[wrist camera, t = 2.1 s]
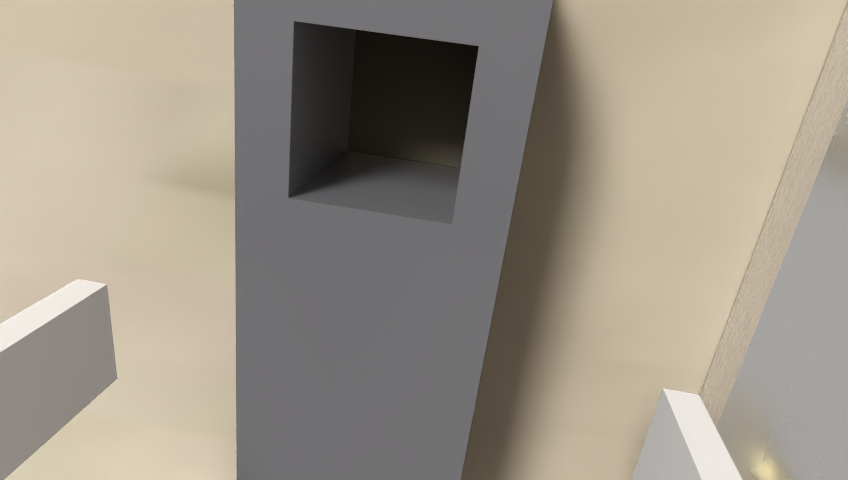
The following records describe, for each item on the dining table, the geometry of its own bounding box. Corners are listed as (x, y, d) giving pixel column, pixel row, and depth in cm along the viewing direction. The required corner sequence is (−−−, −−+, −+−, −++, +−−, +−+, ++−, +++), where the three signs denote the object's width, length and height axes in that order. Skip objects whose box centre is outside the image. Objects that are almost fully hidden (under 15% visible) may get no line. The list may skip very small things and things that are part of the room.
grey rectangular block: (441, 525, 21) (422, 683, 16) (292, 495, 22) (228, 640, 17) (545, -44, 14) (573, -87, 9) (318, -72, 15) (217, -128, 9)
